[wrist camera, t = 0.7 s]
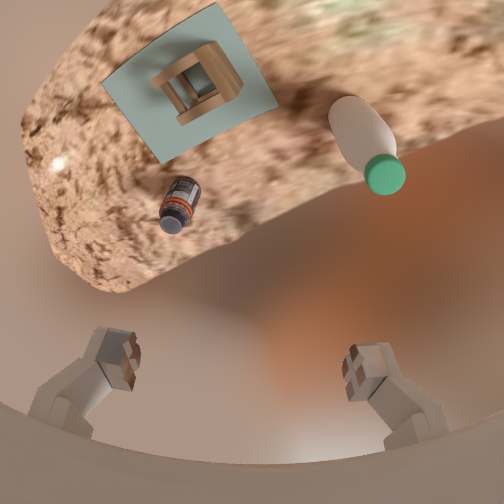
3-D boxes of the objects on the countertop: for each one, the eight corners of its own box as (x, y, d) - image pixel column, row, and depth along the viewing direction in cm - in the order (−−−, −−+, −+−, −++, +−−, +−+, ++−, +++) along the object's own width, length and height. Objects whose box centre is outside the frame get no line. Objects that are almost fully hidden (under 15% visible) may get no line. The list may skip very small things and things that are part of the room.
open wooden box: (217, 41, 34) (203, 45, 28) (244, 84, 39) (236, 97, 33) (169, 69, 38) (149, 80, 32) (196, 108, 43) (181, 126, 37)
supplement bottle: (194, 205, 58) (179, 244, 50) (168, 192, 56) (149, 229, 48) (206, 184, 54) (192, 222, 46) (179, 170, 52) (159, 206, 44)
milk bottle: (318, 123, 43) (338, 189, 29) (342, 86, 38) (380, 132, 24) (357, 144, 45) (390, 217, 31) (381, 110, 40) (431, 170, 26)
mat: (217, 2, 30) (216, 2, 29) (279, 105, 42) (279, 106, 41) (102, 82, 39) (101, 83, 39) (162, 163, 51) (161, 164, 51)
